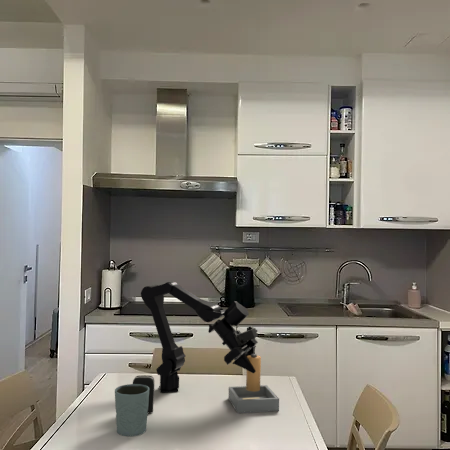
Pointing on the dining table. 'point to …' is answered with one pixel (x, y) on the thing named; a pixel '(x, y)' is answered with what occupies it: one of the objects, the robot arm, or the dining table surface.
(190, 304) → the robot arm
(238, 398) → the gray square tray
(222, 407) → the dining table surface
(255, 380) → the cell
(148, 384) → the battery charger
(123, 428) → the green cup
